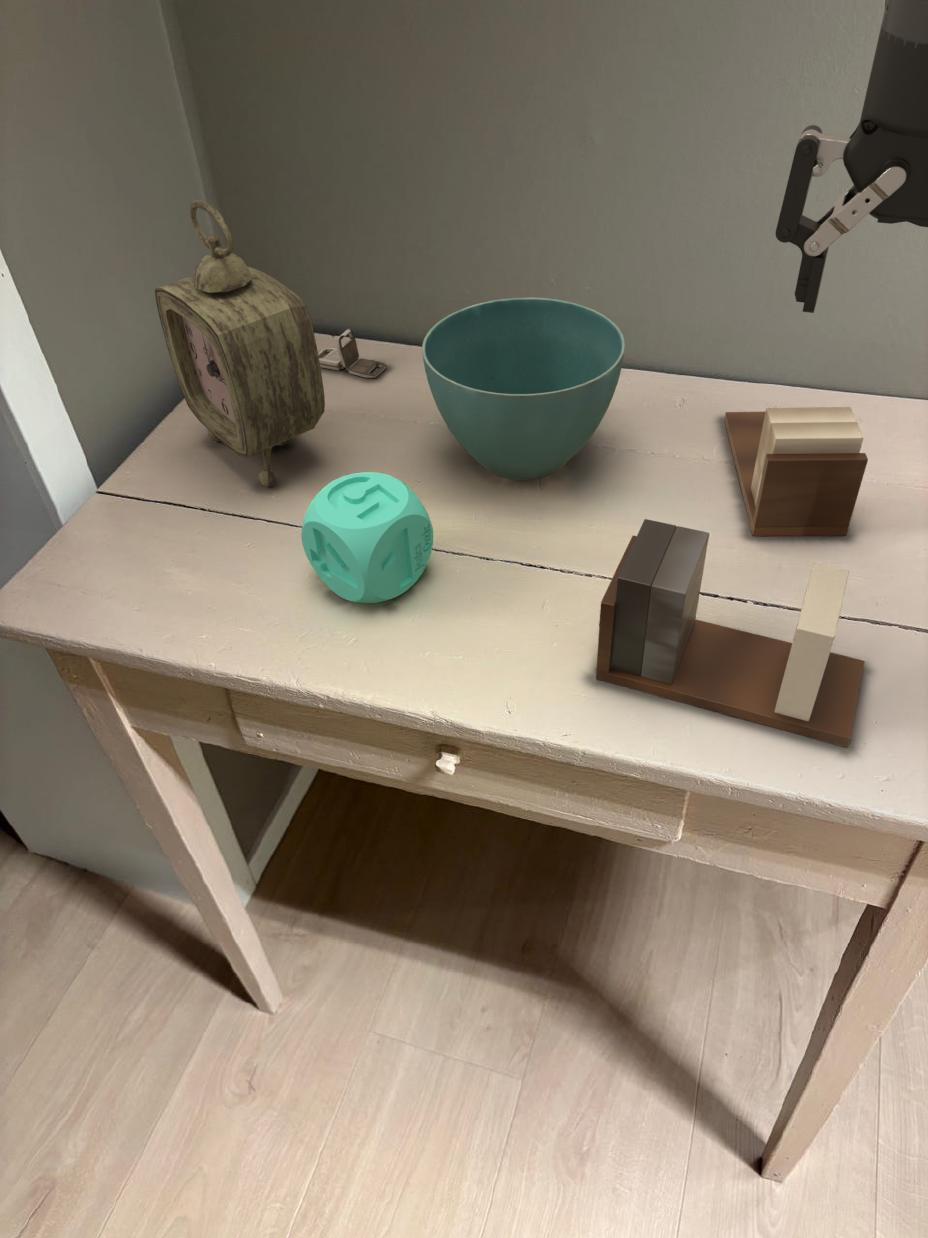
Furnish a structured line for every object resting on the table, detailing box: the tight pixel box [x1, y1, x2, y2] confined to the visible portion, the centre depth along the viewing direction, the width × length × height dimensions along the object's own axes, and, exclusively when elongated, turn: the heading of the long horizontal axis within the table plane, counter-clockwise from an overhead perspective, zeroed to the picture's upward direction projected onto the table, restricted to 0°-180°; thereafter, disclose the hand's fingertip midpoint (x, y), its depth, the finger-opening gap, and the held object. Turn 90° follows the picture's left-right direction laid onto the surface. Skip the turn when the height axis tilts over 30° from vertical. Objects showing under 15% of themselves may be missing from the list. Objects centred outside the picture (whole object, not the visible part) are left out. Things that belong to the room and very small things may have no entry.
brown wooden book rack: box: [724, 406, 869, 537], centre depth 87 cm, size 19×8×10 cm, turn 177°
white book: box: [774, 562, 850, 721], centre depth 67 cm, size 2×7×8 cm, turn 157°
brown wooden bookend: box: [595, 518, 866, 748], centre depth 69 cm, size 18×8×10 cm, turn 67°
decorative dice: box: [300, 471, 434, 604], centre depth 80 cm, size 8×8×8 cm
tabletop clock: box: [154, 199, 326, 487], centre depth 89 cm, size 14×9×25 cm, turn 38°
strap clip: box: [318, 328, 387, 379], centre depth 108 cm, size 8×3×4 cm, turn 63°
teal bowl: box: [421, 297, 626, 481], centre depth 91 cm, size 18×18×12 cm
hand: (880, 316), depth 60 cm, fingers open, 8 cm apart
